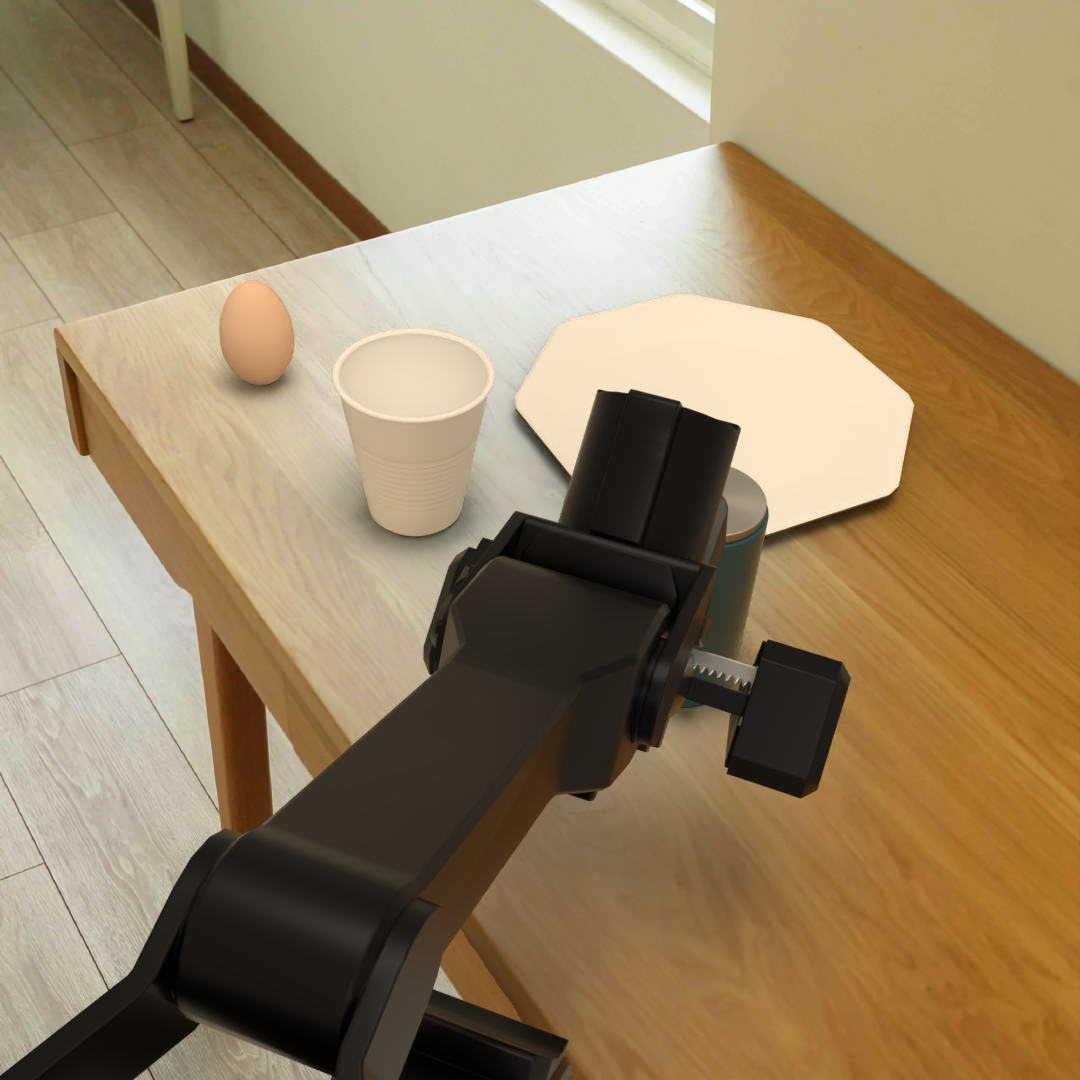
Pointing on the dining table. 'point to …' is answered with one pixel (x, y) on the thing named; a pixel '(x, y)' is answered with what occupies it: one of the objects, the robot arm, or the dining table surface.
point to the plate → (735, 396)
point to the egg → (256, 333)
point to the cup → (414, 423)
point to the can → (735, 571)
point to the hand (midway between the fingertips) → (654, 670)
